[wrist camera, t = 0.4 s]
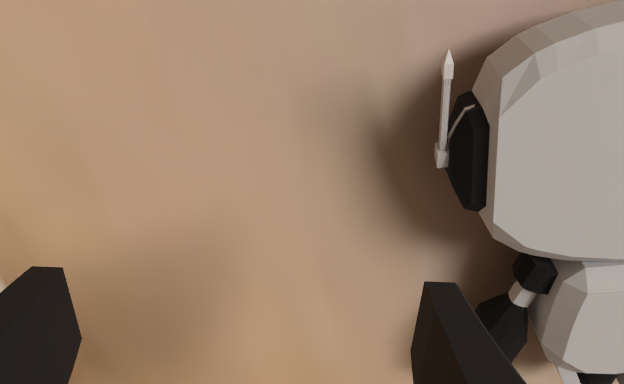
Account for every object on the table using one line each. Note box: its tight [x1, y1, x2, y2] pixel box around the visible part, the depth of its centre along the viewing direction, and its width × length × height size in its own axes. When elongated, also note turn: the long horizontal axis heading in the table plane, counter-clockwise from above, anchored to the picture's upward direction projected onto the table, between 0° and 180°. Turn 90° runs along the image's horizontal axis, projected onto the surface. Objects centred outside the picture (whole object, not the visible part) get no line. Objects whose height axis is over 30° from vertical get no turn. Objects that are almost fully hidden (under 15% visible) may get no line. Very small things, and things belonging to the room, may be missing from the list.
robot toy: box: [434, 0, 624, 384], centre depth 20 cm, size 12×4×15 cm
